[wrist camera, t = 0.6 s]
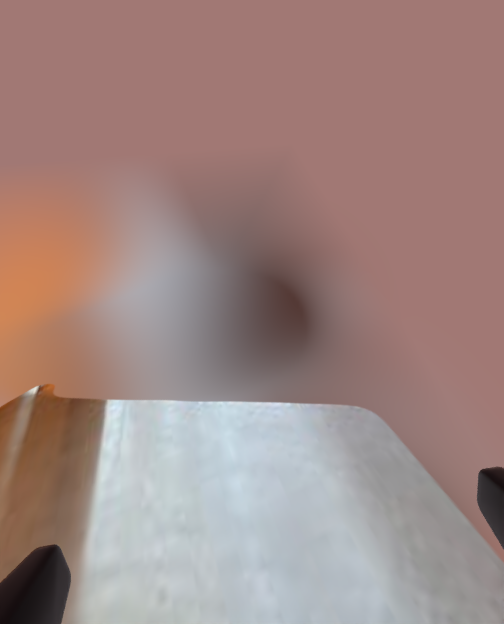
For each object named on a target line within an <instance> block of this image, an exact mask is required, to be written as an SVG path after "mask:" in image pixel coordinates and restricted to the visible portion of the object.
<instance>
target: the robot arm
mask: <svg viewBox="0 0 504 624" xmlns="http://www.w3.org/2000/svg"><path fill="white" fill-rule="evenodd" d="M477 492H478V493H477V501H478V506H479V508H480V510H481V512H482V514H483V516H484V517H485V519H486V521H487V522H488V524H489V526H490V527H491V529H492V530H493V532H494V534H495V536H496V537H497V539H498V540H499V542H500V544H501V546H502V547H503V549H504V468H502V467H492V468H486V469H482V470H481V471H480V472H479V475H478V491H477ZM70 582H71V574H70V570H69V567H68V565H67V563H66V560H65V558H64V556H63V553H62V551H61V548H60V547H59V546H58V545H48V546H43V547H39V548H36V549H35V550H34V551H32V552H31V553H30V554H29V555H28V556H27V557H26V558H25V559H24V560H23V561H22V562H21V563H20V564H19V565H18V566H17V567H16V568H15V569H14V570H13V571H12V572H11V573H10V574H9V575H8V576H7V577H6V578H5V579H4V580H3V581H2V582H1V583H0V624H61V622H62V618H63V614H64V609H65V605H66V601H67V597H68V592H69V588H70Z"/></svg>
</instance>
